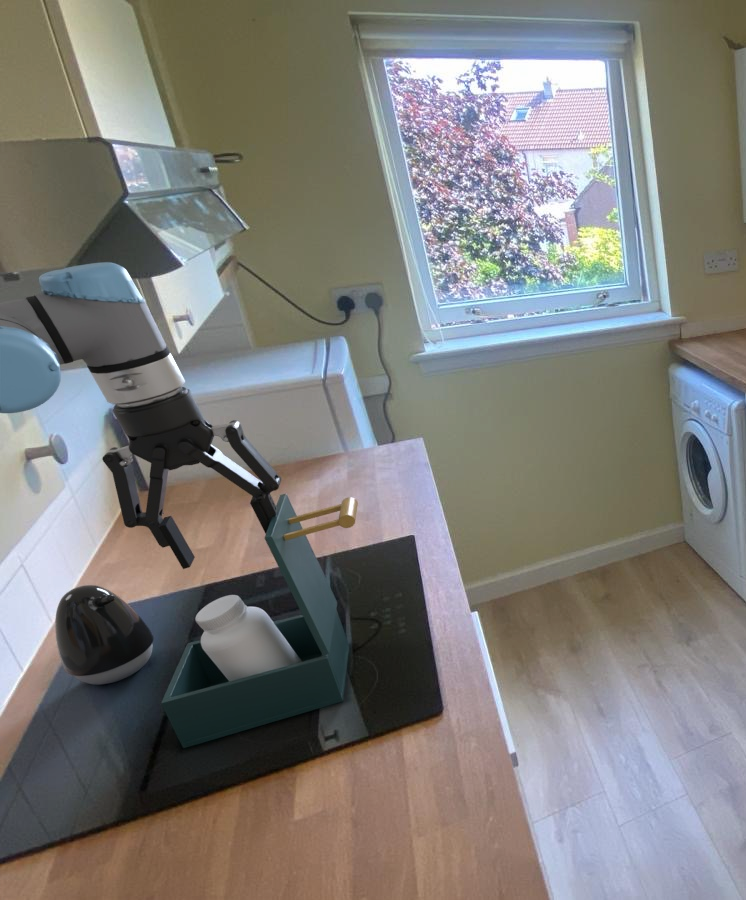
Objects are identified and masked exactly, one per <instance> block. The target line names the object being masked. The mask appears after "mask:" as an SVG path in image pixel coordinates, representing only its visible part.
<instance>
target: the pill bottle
mask: <svg viewBox="0 0 746 900" xmlns="http://www.w3.org/2000/svg"><path fill="white" fill-rule="evenodd" d="M194 621H195V623H196V624H197V625H198V626H199V627H200V629H201V630H203V633H202V635H201V636H200V640H201V646H202V648H203V650H204V651H205V652H206V654H207V655H208V656H209V657H210V658H211V660H212V661H213V662H214V663H215V664H216V666H217V667H218V668H219V669H220V671H221V672H222V673H223V674H224V675H225V677H226V678H227V679H228V680H229V681H233V680H237V679H241V678H244V677H248V676H252V675H255V674H259V673H263V672H266V671H270V670H274V669H277V668H281V667H285V666H288V665H292V664H296V663H299V662H302V661H301V659H300V658H299V657H298V655H297V654H296V653H295V651H294V650H293V649H292V647H291V646H290V644H289V643H288V642H287V640H286V639H285V638H284V636H283V635H282V634H281V632H280V631H279V629H278V628H277V627H276V625H275V624H274V623H273V622H274V621H273V620H272V618H271V617H270V615H269V614H268V613H267V612H266V611H265V610H264V609H262V608H260V607H257V606H247V605H246V604H245V602H244V601H243V599H242V598H241V597H240V596H239V595H237V594H229V595H225V596H222V597H219V598H217V599H215V600H213V601H211V602H209V603H207V604H206V605H205V606H204V607H203V608H201V609H200V610H199V611H198V613H197V614H196V615H195V620H194Z"/></svg>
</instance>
